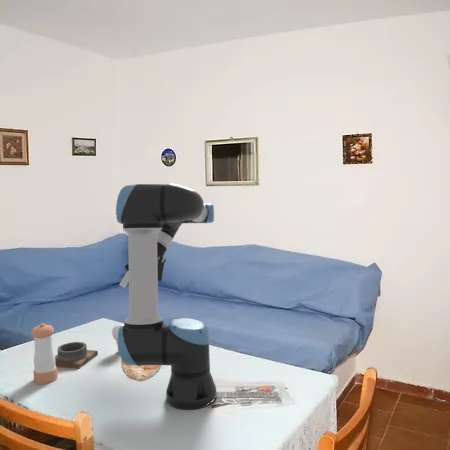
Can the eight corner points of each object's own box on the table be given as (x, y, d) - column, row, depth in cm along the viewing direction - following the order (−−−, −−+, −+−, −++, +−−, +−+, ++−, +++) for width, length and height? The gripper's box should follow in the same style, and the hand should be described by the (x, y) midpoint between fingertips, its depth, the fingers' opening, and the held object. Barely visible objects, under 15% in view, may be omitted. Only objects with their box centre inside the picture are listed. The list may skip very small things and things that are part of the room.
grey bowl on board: (78, 368, 159) (78, 355, 159) (46, 365, 163) (45, 352, 162) (97, 354, 172) (97, 341, 171) (67, 352, 175) (66, 339, 175)
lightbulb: (112, 349, 177) (111, 322, 175) (128, 347, 178) (127, 320, 177) (113, 355, 171) (112, 327, 169) (130, 353, 172) (129, 325, 171)
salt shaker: (47, 372, 157) (44, 319, 155) (62, 377, 153) (58, 322, 151) (29, 381, 151) (25, 325, 149) (43, 385, 147) (39, 328, 145)
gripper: (185, 254, 176) (159, 303, 170) (145, 243, 193) (119, 287, 186) (174, 244, 171) (146, 294, 164) (134, 234, 187) (107, 279, 181)
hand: (132, 290), depth 175 cm, fingers open, 13 cm apart
